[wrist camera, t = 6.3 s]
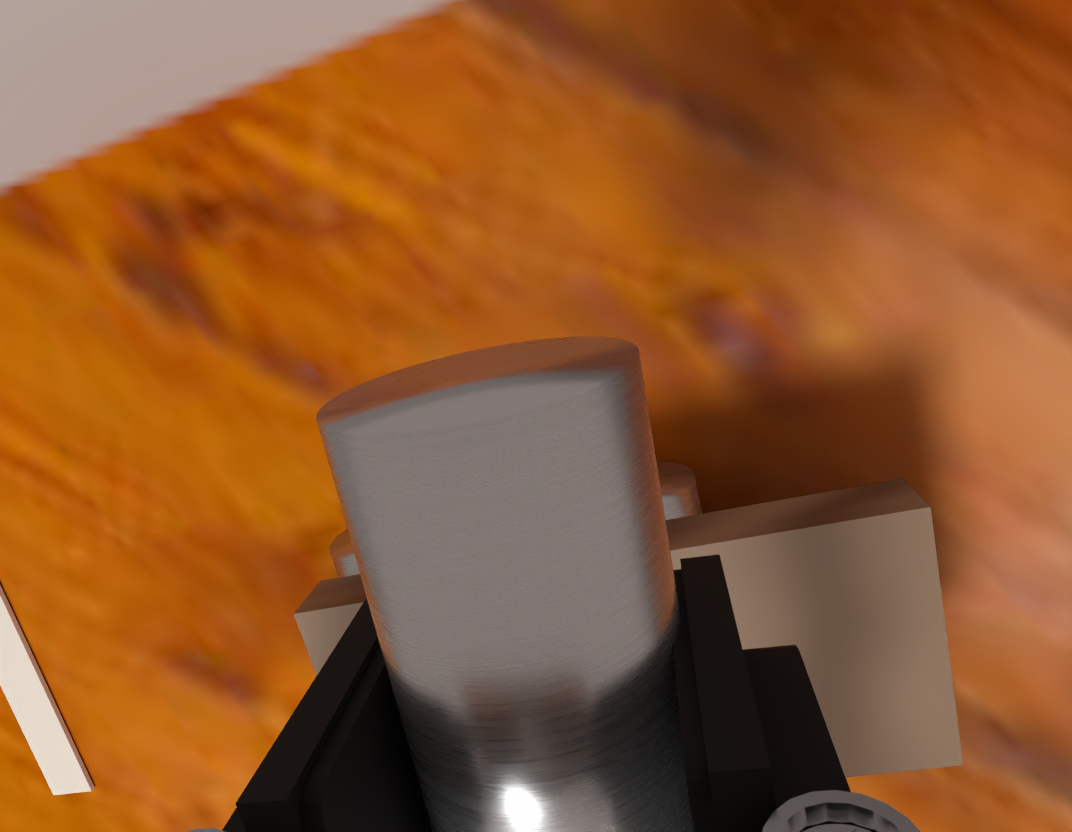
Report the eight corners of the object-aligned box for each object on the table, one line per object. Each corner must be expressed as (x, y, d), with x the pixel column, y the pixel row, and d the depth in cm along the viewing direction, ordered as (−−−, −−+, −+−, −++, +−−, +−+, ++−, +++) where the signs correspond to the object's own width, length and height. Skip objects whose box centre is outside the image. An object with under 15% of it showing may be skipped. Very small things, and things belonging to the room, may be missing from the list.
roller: (435, 350, 10) (243, 437, 8) (679, 325, 9) (555, 424, 6) (552, 859, 13) (442, 1075, 10) (761, 915, 11) (703, 1195, 8)
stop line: (-18, 547, 30) (-22, 549, 30) (94, 787, 34) (91, 790, 33) (-58, 554, 31) (-62, 556, 31) (56, 791, 34) (53, 795, 34)
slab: (903, 477, 21) (930, 506, 19) (936, 717, 23) (962, 764, 21) (320, 581, 24) (293, 614, 22) (392, 781, 26) (373, 827, 24)
